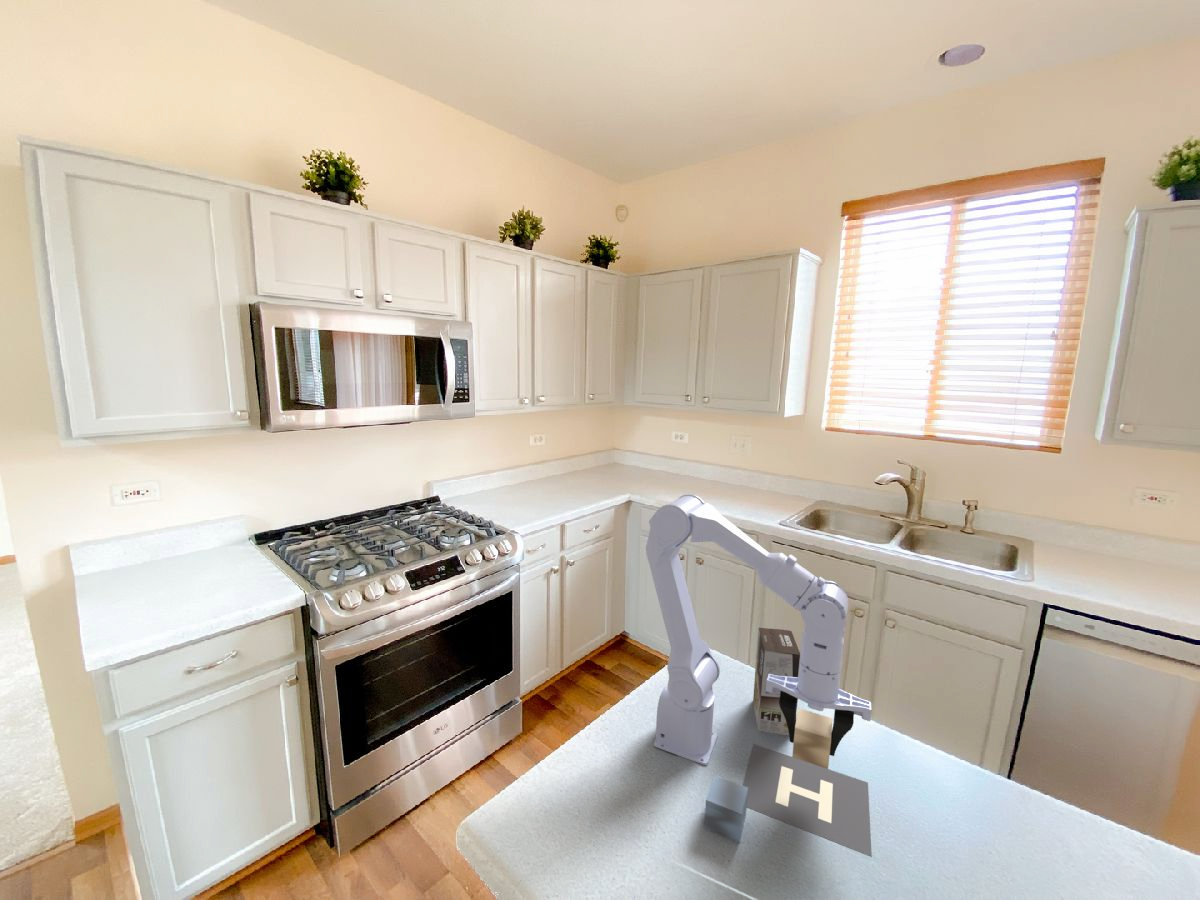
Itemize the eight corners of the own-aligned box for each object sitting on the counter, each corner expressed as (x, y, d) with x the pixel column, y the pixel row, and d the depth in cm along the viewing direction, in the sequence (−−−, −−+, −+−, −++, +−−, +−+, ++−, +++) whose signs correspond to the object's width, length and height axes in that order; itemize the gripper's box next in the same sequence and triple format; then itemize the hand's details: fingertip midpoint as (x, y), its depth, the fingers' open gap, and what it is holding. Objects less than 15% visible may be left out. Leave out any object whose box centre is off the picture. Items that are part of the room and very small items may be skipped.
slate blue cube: (703, 830, 71) (706, 799, 71) (712, 803, 76) (714, 774, 75) (739, 845, 69) (741, 814, 68) (745, 817, 74) (748, 787, 73)
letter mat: (737, 804, 76) (737, 803, 76) (753, 744, 88) (753, 743, 88) (871, 857, 68) (871, 856, 68) (867, 783, 80) (867, 782, 80)
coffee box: (793, 737, 90) (801, 655, 88) (756, 731, 91) (763, 650, 89) (785, 705, 99) (792, 629, 96) (752, 700, 100) (758, 625, 98)
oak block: (792, 756, 76) (795, 727, 75) (795, 736, 80) (798, 708, 80) (828, 769, 74) (831, 738, 73) (829, 747, 78) (832, 718, 77)
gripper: (765, 663, 74) (759, 745, 77) (876, 693, 68) (865, 781, 70) (772, 641, 81) (765, 717, 83) (873, 667, 74) (864, 748, 76)
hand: (811, 744), depth 77 cm, fingers closed on oak block, 5 cm apart
